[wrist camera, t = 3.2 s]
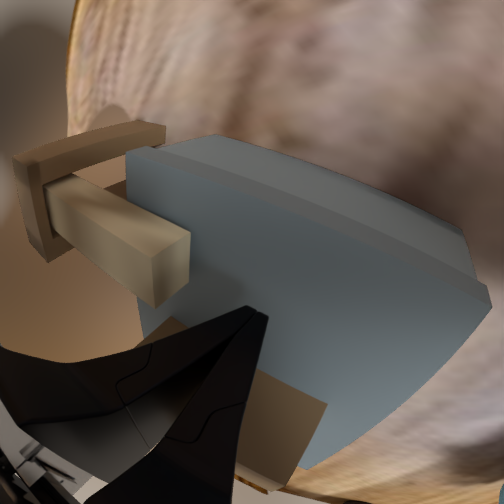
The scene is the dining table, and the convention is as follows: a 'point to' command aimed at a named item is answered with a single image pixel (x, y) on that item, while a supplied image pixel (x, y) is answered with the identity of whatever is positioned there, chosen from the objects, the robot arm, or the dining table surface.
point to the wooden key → (120, 238)
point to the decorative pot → (501, 495)
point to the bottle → (355, 502)
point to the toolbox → (239, 162)
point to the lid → (304, 307)
